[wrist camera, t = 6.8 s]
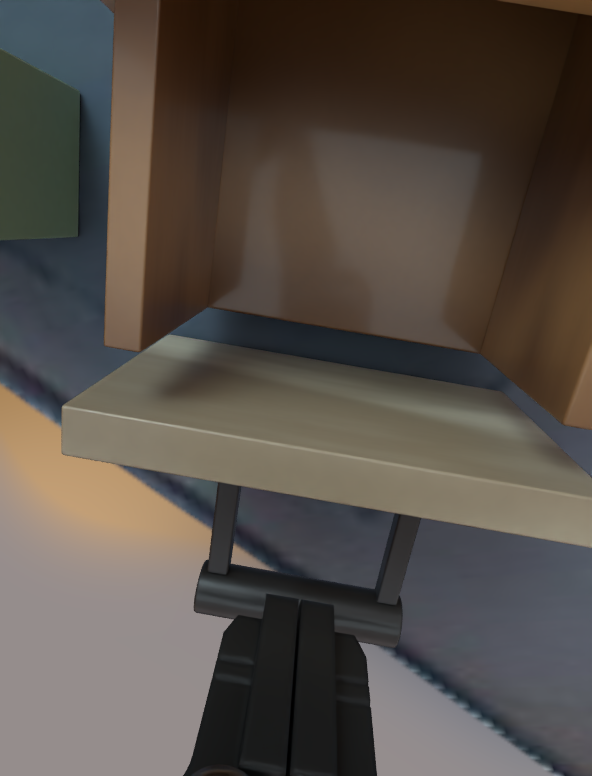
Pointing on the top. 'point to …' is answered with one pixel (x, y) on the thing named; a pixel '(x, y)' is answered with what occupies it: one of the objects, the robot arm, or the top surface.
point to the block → (37, 153)
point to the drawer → (349, 267)
